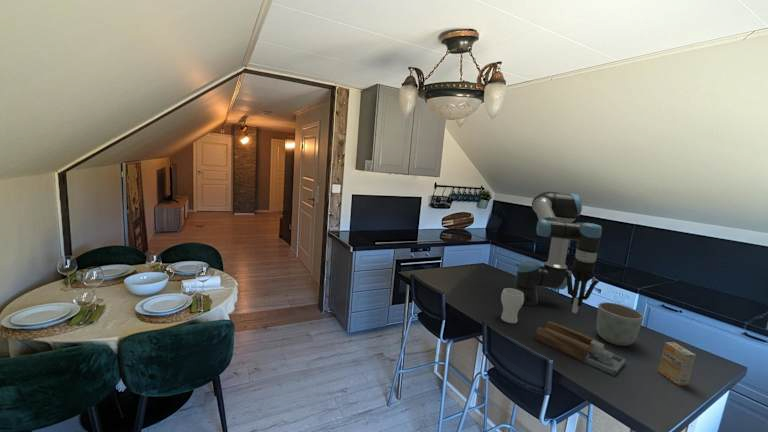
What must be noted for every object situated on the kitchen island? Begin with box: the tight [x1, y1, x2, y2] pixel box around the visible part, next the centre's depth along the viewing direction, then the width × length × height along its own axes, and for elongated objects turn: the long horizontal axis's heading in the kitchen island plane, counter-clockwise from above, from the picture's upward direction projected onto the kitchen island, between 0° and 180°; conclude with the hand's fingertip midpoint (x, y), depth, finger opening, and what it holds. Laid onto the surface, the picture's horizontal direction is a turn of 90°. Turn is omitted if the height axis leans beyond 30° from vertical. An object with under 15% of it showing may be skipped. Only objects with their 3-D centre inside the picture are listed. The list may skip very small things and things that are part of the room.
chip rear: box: [588, 339, 605, 356], centre depth 135 cm, size 4×4×4 cm
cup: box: [500, 287, 524, 324], centre depth 164 cm, size 11×11×15 cm
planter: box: [595, 301, 644, 347], centre depth 151 cm, size 17×17×15 cm
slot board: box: [535, 320, 598, 363], centre depth 144 cm, size 13×20×6 cm, turn 40°
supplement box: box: [657, 341, 697, 386], centre depth 125 cm, size 8×5×13 cm, turn 5°
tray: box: [583, 352, 627, 377], centre depth 133 cm, size 14×11×2 cm
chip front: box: [598, 348, 615, 366], centre depth 132 cm, size 4×4×4 cm
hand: (574, 311), depth 141 cm, fingers closed
